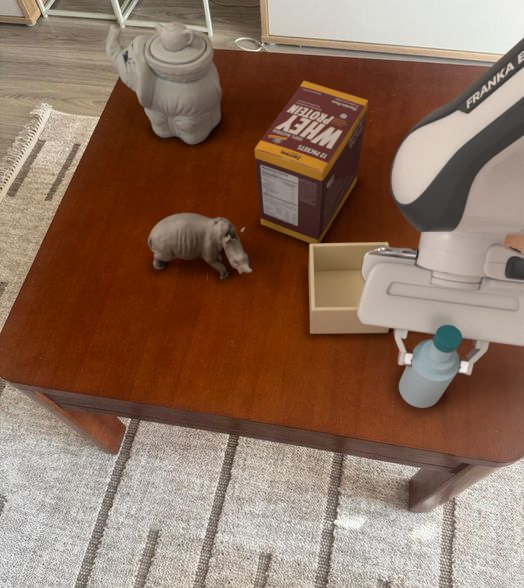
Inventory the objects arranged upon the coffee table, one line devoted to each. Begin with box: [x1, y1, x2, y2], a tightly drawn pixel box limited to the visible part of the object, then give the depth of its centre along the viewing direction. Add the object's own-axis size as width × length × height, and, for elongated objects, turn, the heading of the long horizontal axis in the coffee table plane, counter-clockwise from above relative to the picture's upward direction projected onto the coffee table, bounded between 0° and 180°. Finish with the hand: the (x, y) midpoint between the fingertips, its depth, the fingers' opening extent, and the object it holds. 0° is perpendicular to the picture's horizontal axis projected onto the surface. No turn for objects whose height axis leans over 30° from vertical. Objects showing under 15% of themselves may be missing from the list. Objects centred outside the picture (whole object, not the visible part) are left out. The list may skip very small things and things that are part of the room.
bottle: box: [398, 325, 463, 409], centre depth 64 cm, size 6×6×15 cm
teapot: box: [104, 21, 223, 145], centre depth 88 cm, size 16×15×19 cm
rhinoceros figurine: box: [147, 212, 253, 280], centre depth 78 cm, size 8×14×15 cm
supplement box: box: [254, 80, 369, 244], centre depth 79 cm, size 10×15×16 cm
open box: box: [308, 241, 390, 335], centre depth 74 cm, size 11×11×6 cm
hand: (433, 368), depth 63 cm, fingers closed on bottle, 5 cm apart
